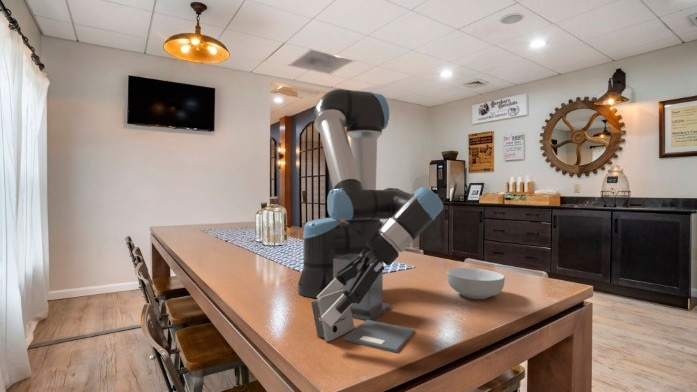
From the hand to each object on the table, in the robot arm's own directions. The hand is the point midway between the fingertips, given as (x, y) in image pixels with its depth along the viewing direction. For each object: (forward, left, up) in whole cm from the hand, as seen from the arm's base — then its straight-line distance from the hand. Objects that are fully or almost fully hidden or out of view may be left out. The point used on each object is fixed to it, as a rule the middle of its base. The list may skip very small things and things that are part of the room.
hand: (322, 310), depth 78 cm
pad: (+12, +5, -5) cm, 14 cm away
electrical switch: (+2, +1, -5) cm, 6 cm away
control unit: (0, +18, -5) cm, 19 cm away
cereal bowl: (+26, +48, -6) cm, 55 cm away
